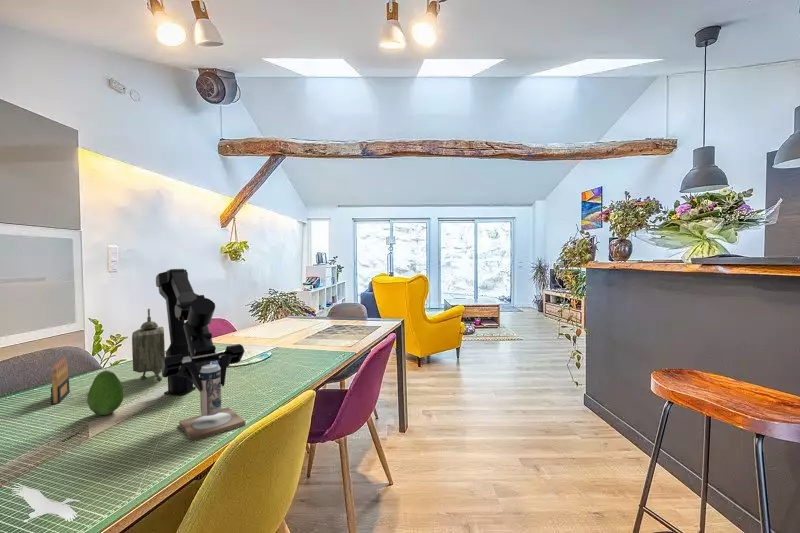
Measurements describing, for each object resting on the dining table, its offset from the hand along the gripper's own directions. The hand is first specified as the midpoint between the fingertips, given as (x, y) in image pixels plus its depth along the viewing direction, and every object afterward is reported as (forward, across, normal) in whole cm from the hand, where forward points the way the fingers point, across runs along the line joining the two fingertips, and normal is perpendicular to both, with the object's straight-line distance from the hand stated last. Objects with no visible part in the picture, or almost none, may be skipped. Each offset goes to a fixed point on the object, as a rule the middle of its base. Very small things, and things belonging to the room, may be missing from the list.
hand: (212, 388), depth 92 cm
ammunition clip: (-31, +28, -46) cm, 62 cm away
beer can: (+4, 0, -6) cm, 7 cm away
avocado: (-14, +19, -28) cm, 36 cm away
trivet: (+6, 0, -8) cm, 10 cm away
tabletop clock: (-32, +5, -48) cm, 58 cm away
